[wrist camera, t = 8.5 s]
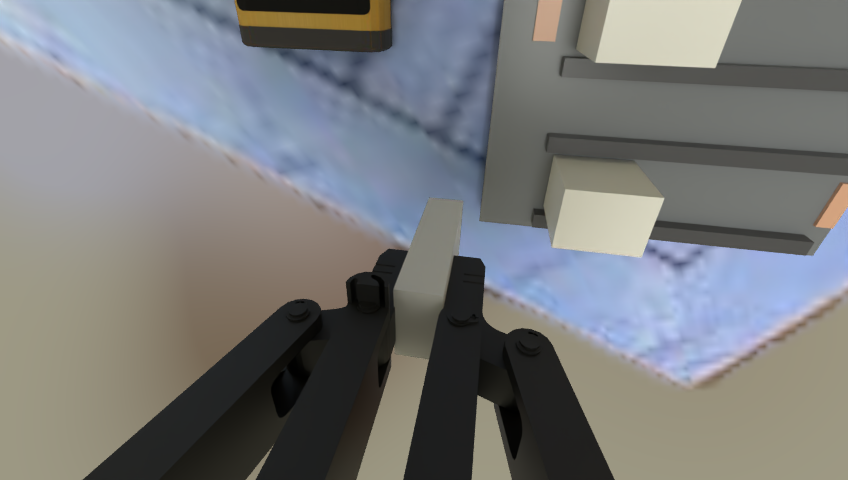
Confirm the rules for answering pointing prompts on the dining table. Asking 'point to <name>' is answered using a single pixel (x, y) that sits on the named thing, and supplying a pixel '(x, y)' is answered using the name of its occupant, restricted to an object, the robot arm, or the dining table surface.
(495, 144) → the switch bank
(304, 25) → the electronic device
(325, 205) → the dining table surface
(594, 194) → the tab
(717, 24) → the tab
